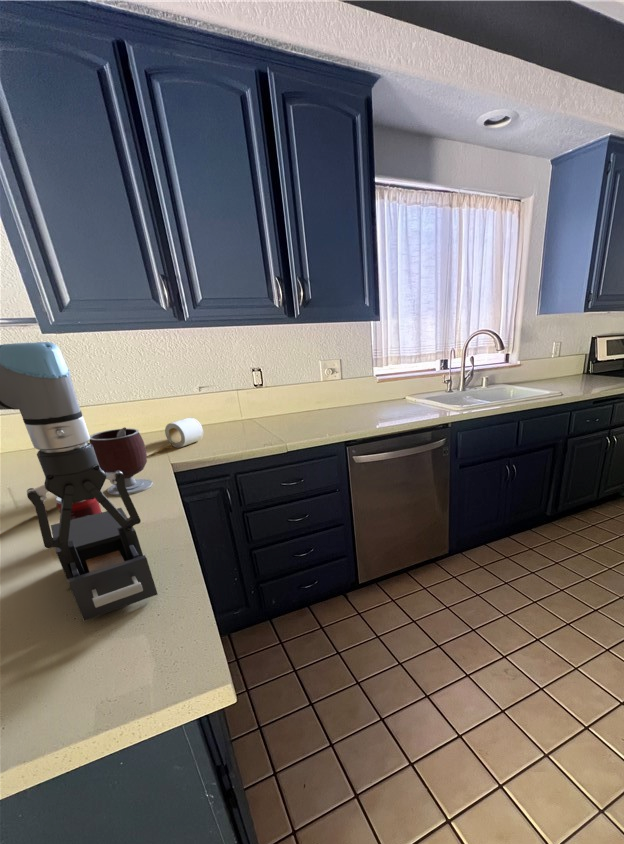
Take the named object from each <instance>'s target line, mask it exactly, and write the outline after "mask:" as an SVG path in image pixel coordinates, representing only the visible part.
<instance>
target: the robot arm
mask: <svg viewBox="0 0 624 844" xmlns="http://www.w3.org/2000/svg"><path fill="white" fill-rule="evenodd" d="M73 384H74V383H73V380H72V377H71V371H70V369H69V368H68V365H67V363H66V361H65V358H64V356H63V354H62V351H61V349H60V347H59V346H58V345H57V344H55V343H53V342H51V341H39V342H38V341H37V342H16V343H2V344H0V411H5V410H6V411H7V410H8V411H9V410H14V411H15V410H19V413H20V415H21V417H22V421H23V423H24V426H25V428H26V429H25V430H26V431H27V433H28V436H29V438H30V441H31V444H32V446H33V448H34V449H36V450H38V451H37V453H36V457H37V459H38V462H39V465H40V468H41V470H42V472H43V475H44V478H45V480H44V484H43V485H40V486H38V487H35V488H33V487H30V488H27V490H26V497H27V499H28V500H29V501H30V502H31V504H32V505H33V507H34V508H35V513H36V517H37V522H38V525H39V529H40V533H41V537H42V541H43V546H44V548H45V549H53V548H55V547H57V548H60V549H61V552H62V554H63V556H64V559H65V561H66V563H68V564H70V563H73V562H75V564H76V567H77V569H78V572H79V574H80V575H83V574H85V572H84V569H83V566H82V564H81V561H80V559H79V556H78V553H77V551H76V548H75V546H74V543H73V541H69V542H68V539H69V529H70V519H71V510H72V504H74V503H78V502H80V501H83V500H91V499H96V500H97V501H98V503H99V505H100V506H102V508H103V509H105V511H108V513H109V514H110V515H111V516H112V517H113V518H114V519H115V520H116V521H117V522H118V523H119V525H120V526H121V527H120V528H118V531H119V535H120V538H121V541H122V544H123V547H124V550H125V553H126V556H127V559H128V560H131V559H133V556H132V553H131V550H130V545H133V544H135V539H134V536H133V533H132V527H134V526H136V525H139V524H141V518H140V516H139V514H138V511H137V509H136V507H135V505H134V503H133V501H132V498H131V497H130V494H128V492H127V490H126V488H125V477H124V475H123V473H122V472H121V471H120V470H117V471H115V472H104V471H103V470H102V469H101V468H100V466H99V463H98V460H97V457H96V454H95V451H94V448H93V445H92V444H90V441H89V440H90V436H91V435H90V433H89V430H88V427H87V424H86V421H85V418H84V415H83V413H82V410H81V407H80V404H79V400H78V397H77V394H76V391H75V388H74V385H73ZM106 480H109V483H110V484H111V485H115V486H116V488H117V490H118V492H119V495H120V496H119V497H120V499H121V501H122V503H123V505H124V507H125V509H126V511H127V513H128V517H127V518H128V519H125V518H124V516H123V515H122V514H121V513H120V512H119V511H118V510H117V509H118V508H117V507H116V506H115V505H114V504H113V503H112V502H111V500H110V499H108V497H107V496H106V495H105V494H104V492H103V491H102V489H103V486H104V484H105V482H106ZM47 493H51V494H52V495H54V496H56V497H59V498H61V512H60V511H59V522H58V523H59V532H58V538H53V534H52V530H51V525H50V523H49V518H48V515H47V514H48V513H47V510H46V506H45V501H46V500H47Z"/></svg>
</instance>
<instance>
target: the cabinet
mask: <svg viewBox="0 0 624 844" xmlns="http://www.w3.org/2000/svg"><path fill="white" fill-rule="evenodd" d="M116 509H117V510H118V511H119V512H120V513H121V514H122V515H123V516H124V518H125V519H128V518H129V517H128V516H127V514H126V513H125V511H124V510H123V508H122V507H117V508H116ZM101 512H102V513H98V514H94V515H90V516H86V517H82V518H78V519H74V520H70V529H69V539H68V542H69V541H73V543H74V546H75V548H76V551H80V550H84V549H87V548H91V547H94V546H98V545H101V544H105V543H108V542H111V541H115V540H118V539H121V538H120V535H119V531H118V528H120V527H121V526H120V525H119V523H118V522H117V521H116V520H115V519H114V518H113V517H112V516H111V515H110V514H109V513H108V511H107V510H105V511H101ZM50 530H51V535H52V538H58V532H59V522H58V523H54V524H50ZM132 533H133V536H134V539H135V544H133V546H134V548H135V549H136V551H137V553H138V555H139V557H140V556H144V553H143V549H142V547H141V543H140V541H139V538H138V535H137V531H136V529H135V527H134V526H133V527H132ZM54 549H55V553H56V555H57V558H58V561H59V563H60V565H61V568H62V570H63V572H64V575H65V577H66V580H67V581H68V579H70V578H74V577H73V574H72V570H71V566H70V564H68V563H66V561H65V559H64V556H63V554H62V552H61V549H60V548H57V547H54Z"/></svg>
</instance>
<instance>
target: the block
mask: <svg viewBox="0 0 624 844" xmlns="http://www.w3.org/2000/svg"><path fill="white" fill-rule="evenodd" d="M85 561H86V564H87V567H88V570H89V572H93V571H96V570H99V569H102V568H105V567H109V566H112V565H115V564H118V563H121V562H125V561H124V559H123V557H122V555H121V553H120V551H119V550H118V551H115V552H111V553H108V554H105V555H101V556H98V557H95V558H92V559H88V560H85Z"/></svg>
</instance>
